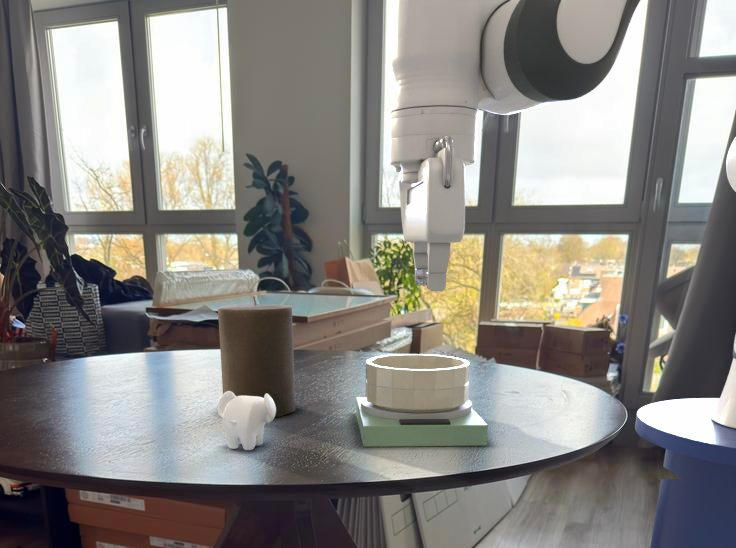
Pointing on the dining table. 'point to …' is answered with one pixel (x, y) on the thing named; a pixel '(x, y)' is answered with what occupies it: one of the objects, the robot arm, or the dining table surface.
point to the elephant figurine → (245, 418)
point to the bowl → (417, 382)
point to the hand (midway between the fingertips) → (429, 287)
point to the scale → (420, 427)
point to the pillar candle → (258, 352)
